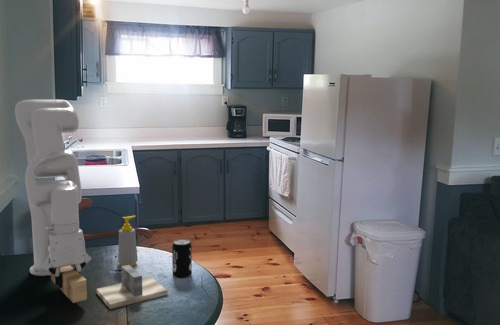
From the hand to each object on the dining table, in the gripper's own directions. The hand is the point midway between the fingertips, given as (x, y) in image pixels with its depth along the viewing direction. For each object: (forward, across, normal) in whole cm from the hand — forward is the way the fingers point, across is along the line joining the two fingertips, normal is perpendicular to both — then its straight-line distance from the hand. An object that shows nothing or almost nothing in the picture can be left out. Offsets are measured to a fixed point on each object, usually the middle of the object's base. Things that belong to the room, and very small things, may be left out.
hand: (68, 284), depth 140 cm
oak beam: (+1, 0, 0) cm, 1 cm away
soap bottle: (+5, +25, +17) cm, 31 cm away
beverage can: (+4, +37, -3) cm, 37 cm away
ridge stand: (+4, +17, -8) cm, 19 cm away
